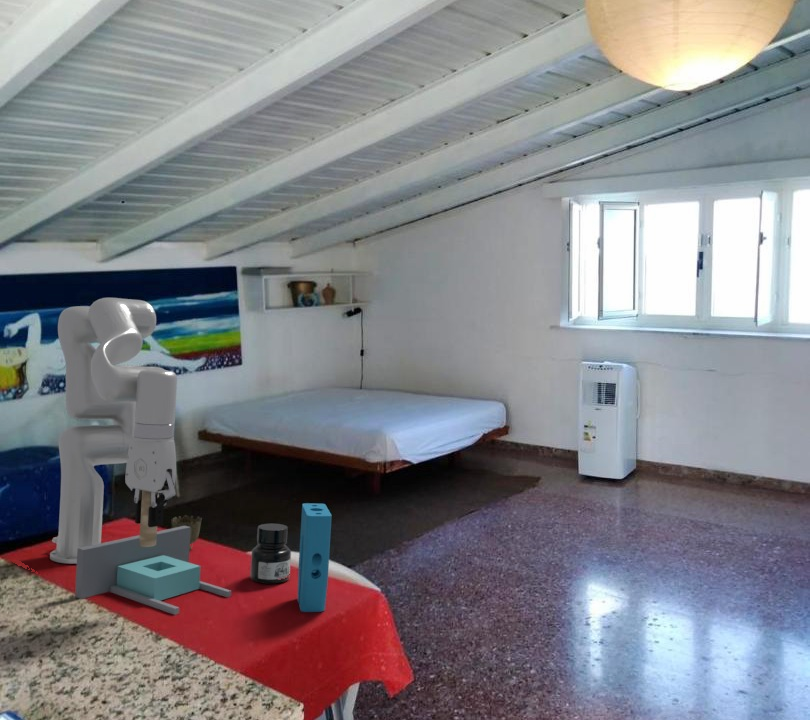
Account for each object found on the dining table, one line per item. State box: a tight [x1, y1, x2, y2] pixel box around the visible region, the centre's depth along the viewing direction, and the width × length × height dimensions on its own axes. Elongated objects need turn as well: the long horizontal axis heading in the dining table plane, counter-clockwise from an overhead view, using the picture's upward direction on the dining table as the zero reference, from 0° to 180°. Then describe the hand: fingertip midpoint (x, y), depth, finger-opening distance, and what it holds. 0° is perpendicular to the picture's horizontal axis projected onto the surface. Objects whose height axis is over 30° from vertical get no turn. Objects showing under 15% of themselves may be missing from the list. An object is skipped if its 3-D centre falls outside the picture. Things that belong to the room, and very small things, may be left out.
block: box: [297, 502, 332, 613], centre depth 159 cm, size 12×5×20 cm, turn 13°
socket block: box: [117, 555, 202, 601], centre depth 162 cm, size 12×12×5 cm
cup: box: [170, 514, 202, 550], centre depth 194 cm, size 8×7×8 cm
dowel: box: [139, 490, 160, 547], centre depth 151 cm, size 3×3×12 cm
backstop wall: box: [74, 526, 232, 615], centre depth 161 cm, size 22×28×10 cm
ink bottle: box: [249, 523, 292, 585], centre depth 174 cm, size 10×9×12 cm
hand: (149, 523), depth 151 cm, fingers closed on dowel, 3 cm apart
